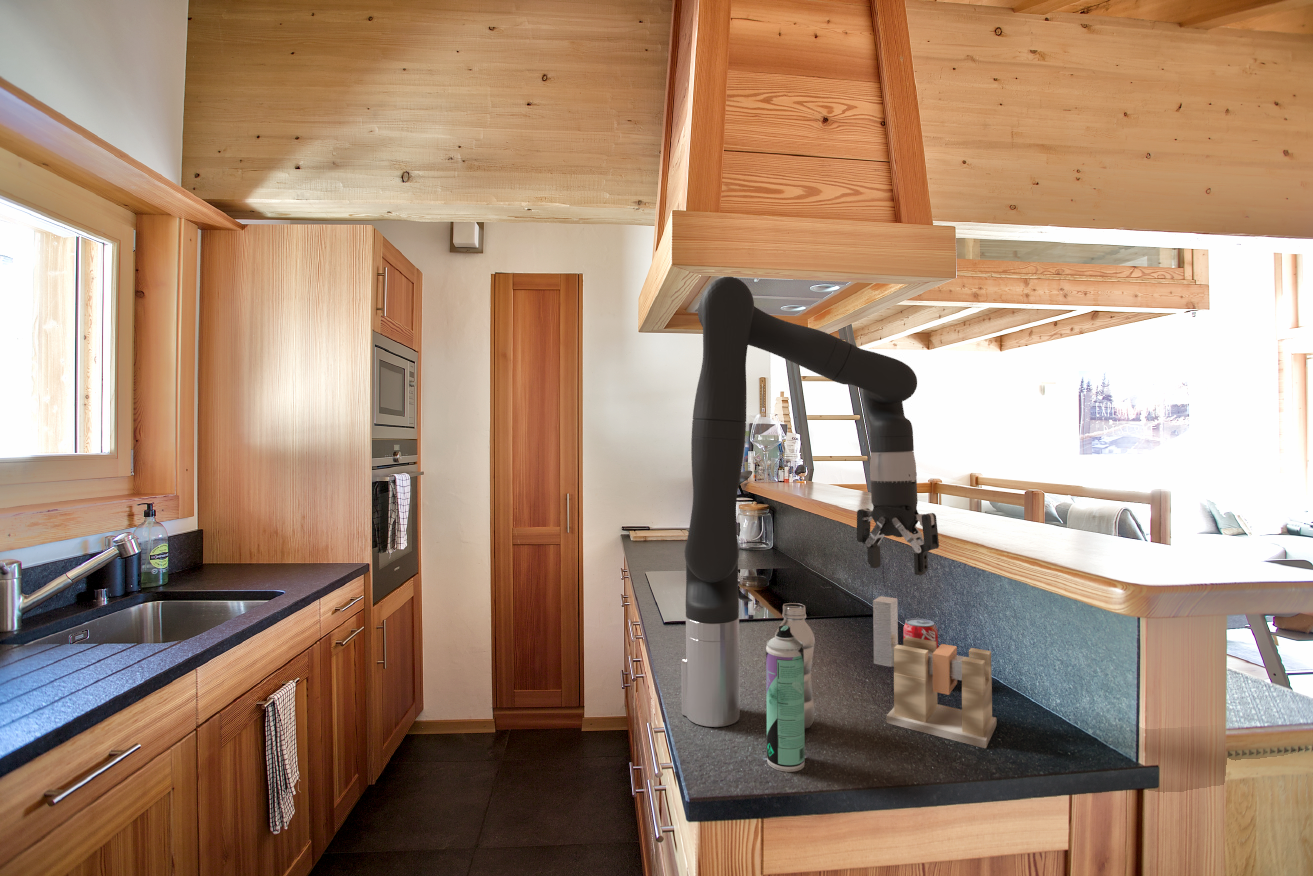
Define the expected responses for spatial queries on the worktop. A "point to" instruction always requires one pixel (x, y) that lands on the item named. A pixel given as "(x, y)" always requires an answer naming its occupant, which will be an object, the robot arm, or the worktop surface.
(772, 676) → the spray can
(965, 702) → the stand
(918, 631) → the soda can
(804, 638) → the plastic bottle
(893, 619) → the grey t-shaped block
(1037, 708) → the worktop surface
